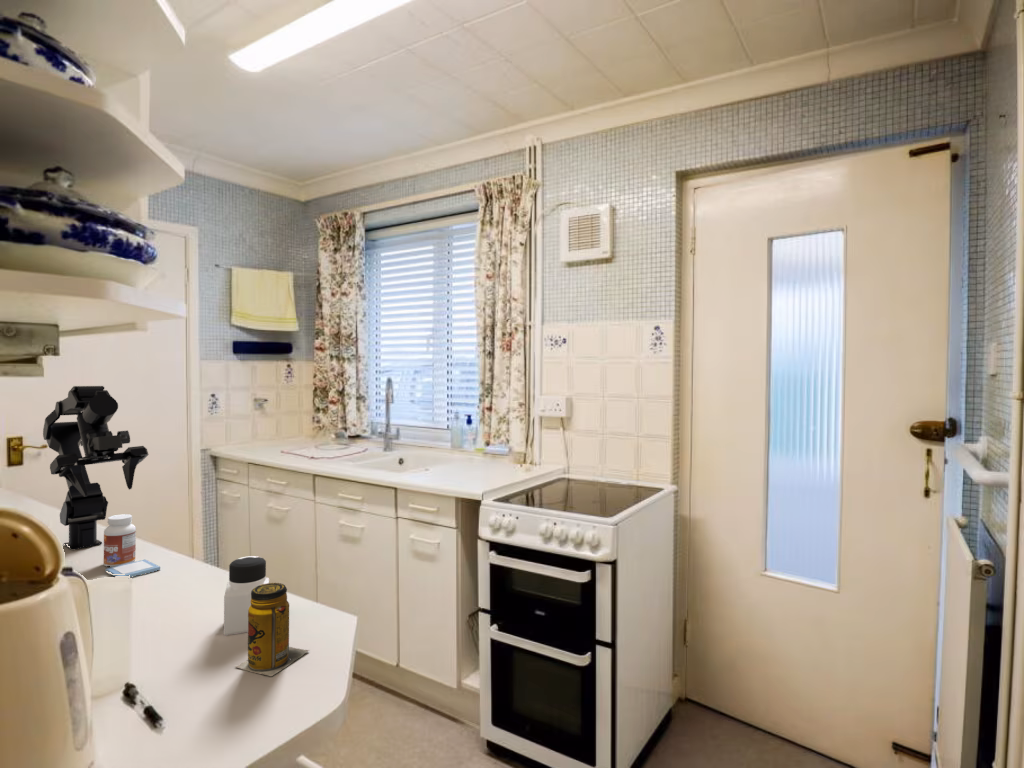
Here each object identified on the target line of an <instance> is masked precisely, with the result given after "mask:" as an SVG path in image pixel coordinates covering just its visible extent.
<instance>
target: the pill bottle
mask: <svg viewBox="0 0 1024 768" xmlns="http://www.w3.org/2000/svg"><path fill="white" fill-rule="evenodd" d="M132 521H133V515H132V514H129V513H128V514H127V513H123V514H115V515H110V516H108V517H107V525H108V526H106V528H105V529H104V531H103V566H105V567H107V566H110V567H115V566H119V565H123V564H127V563H132V562H136V548H137V547H136V539H137V538H136V537H137V534H136V533H137V531H136V530H137V529H136V526H135V525H134V523H132ZM110 567H109V568H110Z"/></svg>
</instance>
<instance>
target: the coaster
mask: <svg viewBox="0 0 1024 768" xmlns="http://www.w3.org/2000/svg"><path fill="white" fill-rule="evenodd" d="M157 570H160V571H161V566H159V565H157V564H155V563H153V562H152V561H149V560H147V559H141V560H135V561H134V562H132V563H127V564H123V565H119V566H115V567H106V568H105V572H106V571H108V572H111V573H112V574H125V575H113V576H129V575H130V577H132V576H136V575H140V576H142V575H141V574H144V575H146V574H145V573H148V574H150V572H152V573H154V571H156V572H158V571H157ZM113 576H112V577H113ZM136 577H137V576H136ZM132 578H133V577H132Z"/></svg>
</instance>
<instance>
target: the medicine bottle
mask: <svg viewBox="0 0 1024 768" xmlns="http://www.w3.org/2000/svg"><path fill="white" fill-rule="evenodd" d="M228 568H229V569H228V571H229V572H228V576H229V577H228V578H229V579H228V582H227V583H226V588H225V591H224V592H225V593H224V596H223V597H224V598H223V635H224V636H226V637H227V636H232V635H238V634H239V635H240V634H245V633H247V634H248V610H249V607H250V606H251V591H252V590H253V589H254V588H255V587H257V586H259V585H262V584H267V583H270V578H269V577H267V560H266V559H264V557H261V556H258V555H256V556H255V555H249V556H242V557H239V558H236V559H234V560H232V561H231V563H230V564H229V565H228Z"/></svg>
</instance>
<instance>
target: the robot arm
mask: <svg viewBox="0 0 1024 768" xmlns="http://www.w3.org/2000/svg"><path fill="white" fill-rule="evenodd" d="M118 409H119V403H118V402H117V400H116V399H115V398H114V397H113V396H112V395H111V394H110V393H109V391H108V390H107V389H105V386H104V385H73V386H72V387H71V388H70V389H69V391H68V394H67V397H65V398H64V399H62V400H59V401H56V402H55V406H54V410H52V412H51V413H50V414H48V415H47V416H46V417H45V419H44V424H43V428H42V429H43V430H42V437H43V440H44V441H46V443H47V446H48V447H49V449H51V450H53V451H55V452H56V453H58V455H57V456H56V457H55V458H54V459H53V460H52V462H50V465H49V470H50V474H51V475H58V478H62V477H63V478H65V481H66V485H67V489H68V491H67V493H66V495H65V496H66V497H65V500H64V502H63V503H62V506H61V510H60V512H59V521H60V522H59V523H60V524H62V525H63V526H64V527H66V526H68V542H64V543H63V546H64V544H65V546H64V547H66V546H67V545H66V544H68V546H70V548H71V549H75V550H79V549H84V548H88V547H93V546H94V547H95V546H99V545H102V544H103V542H102V541H101V540H99V539H98V538H97V535H98V534H97V533H98V532H97V531H98V530H97V529H98V528H97V527H98V525H97V524H98V523H97V522H98V521H101V520H102V521H103V520H106V517H107V509H108V506H109V501H108V500H107V497H106V496H105V495H104V493H103V491H102V487H101V484H99V483H98V482H91V481H90V477H89V474H88V471H87V468H86V466H88V465H96V464H97V465H98V464H105V463H111V462H113V463H114V462H120V461H121V463H122V464H124V465H122V467H121V468H122V471H123V475H124V479H125V483H126V484H125V485H126V486H127V489H128V490H129V491H130V490H132V489H133V485H134V478H135V473H136V468H137V466H138V465H139V464H140V463H141V462H142V461H144V460H145V459H146V458H147V457H148V456H149V451H148V448H147V447H145V446H144V445H137V446H128V447H127V448H126V449H125V450H124V451H122V452H117V451H119V449H122V448H123V445H125V444H130V443H131V435H130V432H129V430H118V431H117V432H116V435H114V433H113V432H112V430H110V429H109V425H108V423H109V422H110V421H111V420H112V418H113V417H114V415H115V414H116V412H117V411H118ZM75 415H76V421H61V422H57V421H58V420H59V419H60V417H61V416H75ZM80 447H82V450H83V452H84V456H83V455H82V451H81V449H80ZM115 452H116V453H115ZM78 548H79V549H78ZM71 549H70V550H71Z"/></svg>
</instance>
